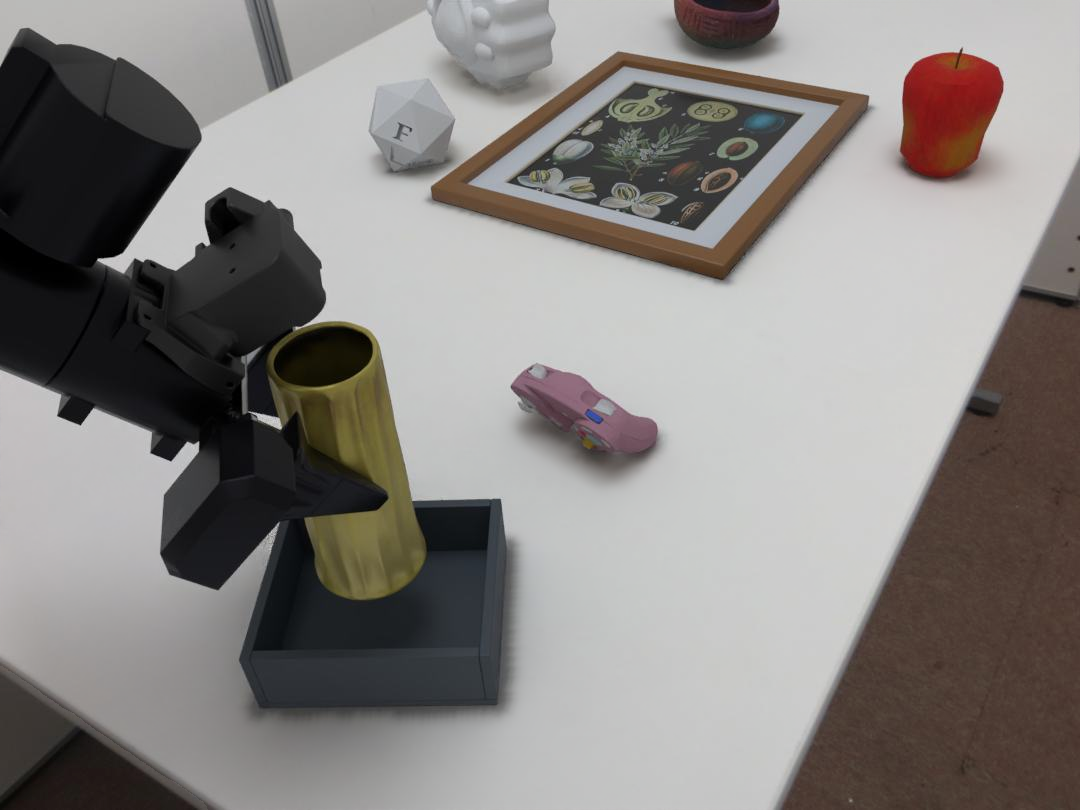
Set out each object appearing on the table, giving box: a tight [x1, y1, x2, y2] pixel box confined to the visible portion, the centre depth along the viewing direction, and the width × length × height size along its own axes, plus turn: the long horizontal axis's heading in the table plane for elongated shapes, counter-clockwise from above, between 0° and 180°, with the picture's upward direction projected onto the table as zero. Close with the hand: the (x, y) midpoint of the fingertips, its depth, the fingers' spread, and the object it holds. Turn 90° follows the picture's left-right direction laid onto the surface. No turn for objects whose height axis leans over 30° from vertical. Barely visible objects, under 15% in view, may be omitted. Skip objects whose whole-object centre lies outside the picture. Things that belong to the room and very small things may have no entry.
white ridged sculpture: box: [426, 0, 557, 90], centre depth 113 cm, size 11×18×16 cm, turn 33°
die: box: [367, 77, 456, 173], centre depth 100 cm, size 8×9×10 cm
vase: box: [266, 320, 426, 600], centre depth 49 cm, size 6×6×14 cm
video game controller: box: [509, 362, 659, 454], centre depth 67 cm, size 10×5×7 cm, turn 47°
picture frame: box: [430, 50, 870, 280], centre depth 101 cm, size 31×2×38 cm
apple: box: [899, 46, 1005, 179], centre depth 92 cm, size 9×8×12 cm
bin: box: [238, 498, 508, 709], centre depth 56 cm, size 13×11×4 cm
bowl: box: [673, 0, 781, 51], centre depth 121 cm, size 16×13×8 cm
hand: (376, 462), depth 50 cm, fingers closed on vase, 5 cm apart
